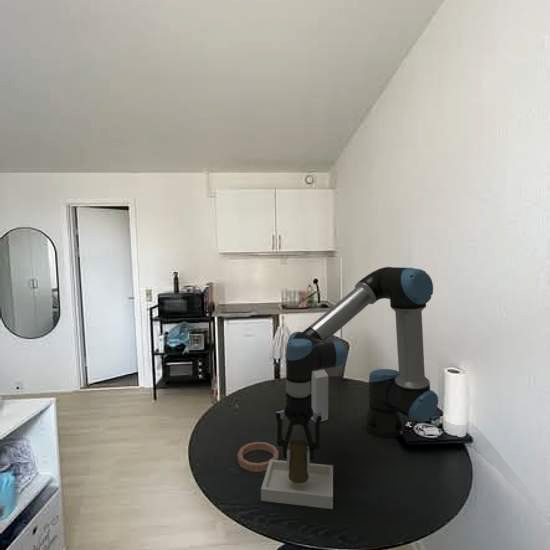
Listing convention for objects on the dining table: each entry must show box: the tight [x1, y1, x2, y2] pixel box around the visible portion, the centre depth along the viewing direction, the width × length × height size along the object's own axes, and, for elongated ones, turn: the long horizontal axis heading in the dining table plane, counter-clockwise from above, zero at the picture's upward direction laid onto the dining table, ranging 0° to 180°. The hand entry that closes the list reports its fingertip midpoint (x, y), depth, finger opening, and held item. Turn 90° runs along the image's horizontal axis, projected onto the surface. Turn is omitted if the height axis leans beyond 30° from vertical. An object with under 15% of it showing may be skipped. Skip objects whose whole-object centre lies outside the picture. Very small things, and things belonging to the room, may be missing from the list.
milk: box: [310, 369, 329, 422], centre depth 144 cm, size 6×6×22 cm
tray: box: [260, 458, 334, 510], centre depth 102 cm, size 20×14×4 cm
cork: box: [288, 437, 309, 483], centre depth 102 cm, size 6×6×11 cm
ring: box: [237, 441, 279, 473], centre depth 116 cm, size 13×13×2 cm
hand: (298, 468), depth 102 cm, fingers closed on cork, 5 cm apart
